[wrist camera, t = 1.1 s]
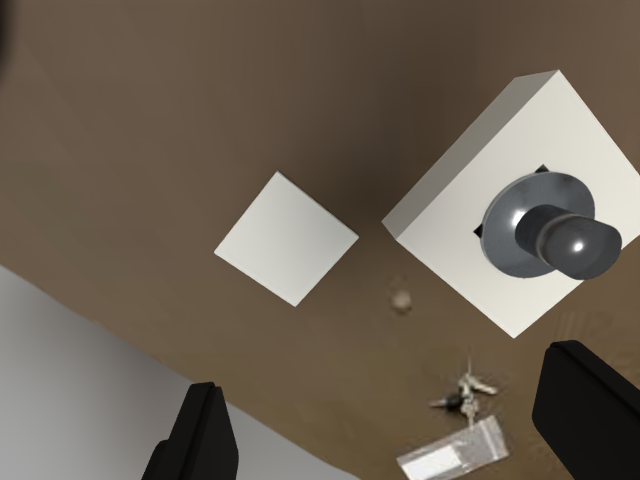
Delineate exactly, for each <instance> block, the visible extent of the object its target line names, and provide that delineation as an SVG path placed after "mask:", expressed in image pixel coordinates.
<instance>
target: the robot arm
mask: <svg viewBox="0 0 640 480" xmlns="http://www.w3.org/2000/svg"><path fill="white" fill-rule="evenodd" d="M532 420H533V423H534V425H535V427H536V429H537V430H538V432H539V433H540V434H541V436H542V437H543V438H544V440H545V441H546V442H547V443H548V445H549V446H550V447H551V449H552V450H553V451H554V453H555V454H556V455H557V457H558V458H559V459H560V461H561V462H562V463H563V465H564V466H565V467H566V469H567V470H568V471H569V473H570V474H571V475H572V476H573V478H574V479H575V480H640V390H639V389H638V388H636V387H635V386H634V385H633V384H631V383H630V382H629V381H628V380H626V379H625V378H624V377H623V376H621V375H620V374H619V373H618V372H616V371H615V370H614V369H613V368H611V367H610V366H609V365H608V364H607V363H605V362H604V361H603V360H602V359H600V358H599V357H598V356H597V355H595V354H594V353H593V352H592V351H590V350H589V349H588V348H587V347H585V346H584V345H583V344H582V343H580V342H579V341H576V340H568V341H560V342H553V343H552V344H551V345H550V347H549V348H548V349H547V350H546V352H545V356H544V361H543V365H542V370H541V375H540V379H539V384H538V389H537V393H536V398H535V403H534V407H533V412H532ZM238 460H239V455H238V449H237V445H236V441H235V437H234V434H233V430H232V426H231V423H230V419H229V415H228V412H227V407H226V404H225V400H224V396H223V392H222V389H221V387H220V386H219V387H215V384H214V383H213V382H205V383H197V384H192V385H191V386H190V387H189V389H188V392H187V394H186V397H185V399H184V402H183V404H182V407H181V409H180V412H179V414H178V417H177V419H176V422H175V424H174V426H173V429H172V431H171V434H170V436H169V439H168V440H163V441H160V442H159V444H158V445H157V446H156V448H155V450H154V451H153V453H152V456H151V458H150V460H149V463H148V465H147V467H146V470H145V472H144V474H143V477H142V479H141V480H236V474H237V469H238Z"/></svg>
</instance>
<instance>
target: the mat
mask: <svg viewBox="0 0 640 480" xmlns="http://www.w3.org/2000/svg"><path fill="white" fill-rule="evenodd" d="M358 238H359V236H358V235H357V234H356V233H355V232H353V231H352V230H351V229H350V228H348V227H347V226H346V225H345V224H344V223H342V222H341V221H340V220H339V219H337V218H336V217H335V216H334V215H332V214H331V213H330V212H329V211H327V210H326V209H325V208H324V207H322V206H321V205H320V204H319V203H317V202H316V201H315V200H314V199H312V198H311V197H310V196H309V195H307V194H306V193H305V192H304V191H302V190H301V189H300V188H299V187H297V186H296V185H295V184H294V183H292V182H291V181H290V180H289V179H287V178H286V177H285V176H284V175H282V174H281V173H280V172H279V171H277V172H276V173H275V174H274V175H273V177H272V178H271V179H270V181H269V182H268V183H267V184H266V186H265V187H264V188H263V190H262V191H261V192H260V193H259V195H258V196H257V197H256V198H255V200H254V201H253V202H252V204H251V205H250V206H249V207H248V209H247V210H246V211H245V213H244V214H243V215H242V216H241V218H240V219H239V220H238V221H237V223H236V224H235V225H234V227H233V228H232V229H231V230H230V232H229V233H228V234H227V236H226V237H225V238H224V239H223V241H222V242H221V243H220V244H219V246H218V247H217V248H216V250H215V251H214V253H215V254H217V255H218V256H220V257H221V258H223V259H224V260H226V261H227V262H229V263H230V264H232V265H233V266H235V267H236V268H238V269H239V270H241V271H242V272H244V273H245V274H247V275H248V276H250V277H251V278H253V279H254V280H256V281H257V282H259V283H260V284H262V285H263V286H265V287H266V288H268V289H269V290H271V291H272V292H274V293H275V294H277V295H278V296H280V297H281V298H283V299H284V300H286V301H287V302H289V303H290V304H292V305H293V306H295V307H296V305H297V304H298V303H299V302H300V301H301V300H302V299H303V298H304V297H305V296H306V295H307V293H308V292H309V291H310V290H311V289H312V288H313V287H314V286H315V285H316V284H317V283H318V282H319V280H320V279H321V278H322V277H323V276H324V275H325V274H326V273H327V272H328V271H329V270H330V269H331V267H332V266H333V265H334V264H335V263H336V262H337V261H338V260H339V259H340V258H341V257H342V255H343V254H344V253H345V252H346V251H347V250H348V249H349V248H350V247H351V246H352V245H353V244H354V242H355V241H356V240H357V239H358Z"/></svg>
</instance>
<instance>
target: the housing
mask: <svg viewBox="0 0 640 480" xmlns="http://www.w3.org/2000/svg"><path fill="white" fill-rule="evenodd" d="M540 171H554V172H559V173H564V174H568V175H571V176H573V177H576V178H577V179H579V180H580V181H582V182H583V183H584V184H585V185H586V186H587V187H588V189H589V190H590V192H591V194H592V196H593V199H594V203H595V219H594V220H597V221H599V222H602V223H605V224H608V225H611V226H613V227H614V228H616V229H617V230H618V231H619V233H620V235H621V238H622V248H624V247H625V246H626V245H627V244H628V243H630V242H631V241H632V240H633V239H635V238H636V237H637V236H638V235H639V234H640V176H639V174H638V173H637V172H636V170H635V169H634V168H633V166H632V165H631V164H630V162H629V161H628V160H627V159H626V157H625V156H624V155H623V153H622V152H621V151H620V149H619V148H618V147H617V145H616V144H615V143H614V141H613V140H612V139H611V137H610V136H609V135H608V134H607V132H606V131H605V130H604V128H603V127H602V126H601V124H600V123H599V122H598V120H597V119H596V118H595V116H594V115H593V114H592V113H591V111H590V110H589V109H588V107H587V106H586V105H585V103H584V102H583V101H582V99H581V98H580V97H579V95H578V94H577V93H576V92H575V90H574V89H573V88H572V86H571V85H570V84H569V82H568V81H567V80H566V78H565V77H564V76H563V74H562V73H561V72H560V71H559V70H554V71H549V72H543V73H537V74H532V75H526V76H520V77H515V78H514V79H513V80H512V81H511V82H510V83H509V84H508V85H507V86H506V87H505V89H504V90H503V91H502V92H501V93H500V94H499V95H498V96H497V97H496V98H495V99H494V100H493V101H492V103H491V104H490V105H489V106H488V107H487V108H486V109H485V110H484V111H483V112H482V113H481V114H480V115H479V117H478V118H477V119H476V120H475V121H474V122H473V123H472V124H471V125H470V126H469V127H468V128H467V129H466V131H465V132H464V133H463V134H462V135H461V136H460V137H459V138H458V139H457V140H456V141H455V142H454V144H453V145H452V146H451V147H450V148H449V149H448V150H447V151H446V152H445V153H444V154H443V155H442V156H441V158H440V159H439V160H438V161H437V162H436V163H435V164H434V165H433V166H432V167H431V168H430V169H429V170H428V172H427V173H426V174H425V175H424V176H423V177H422V178H421V179H420V180H419V181H418V182H417V183H416V184H415V186H414V187H413V188H412V189H411V190H410V191H409V192H408V193H407V194H406V195H405V196H404V197H403V198H402V200H401V201H400V202H399V203H398V204H397V205H396V206H395V207H394V208H393V209H392V210H391V211H390V212H389V214H388V215H387V216H386V217H385V218H384V219H383V220H382V221H381V222H382V223H383V224H384V226H385V227H386V228H387V230H388V231H389V232H390V233H391V235H392V236H393V237H394V239H395V240H396V241H397V242H399V243H400V244H401V245H402V246H403V247H405V248H406V249H407V250H408V251H409V252H411V253H412V254H413V255H414V256H415V257H417V258H418V259H419V260H420V261H421V262H423V263H424V264H425V265H426V266H427V267H429V268H430V269H431V270H432V271H433V272H435V273H436V274H437V275H438V276H439V277H441V278H442V279H443V280H444V281H445V282H447V283H448V284H449V285H450V286H451V287H453V288H454V289H455V290H456V291H457V292H459V293H460V294H461V295H462V296H463V297H465V298H466V299H467V300H468V301H469V302H471V303H472V304H473V305H474V306H475V307H477V308H478V309H479V310H480V311H481V312H483V313H484V314H485V315H486V316H487V317H489V318H490V319H491V320H492V321H493V322H495V323H496V324H497V325H498V326H499V327H501V328H502V329H503V330H504V331H505V332H507V333H508V334H509V335H510V336H511V337H513V338H515V337H516V336H518V335H519V334H520V333H521V332H522V331H524V330H525V329H526V328H527V327H528V326H530V325H531V324H532V323H533V322H534V321H536V320H537V319H538V318H539V317H541V316H542V315H543V314H544V313H545V312H547V311H548V310H549V309H550V308H551V307H553V306H554V305H555V304H556V303H557V302H559V301H560V300H561V299H562V298H563V297H565V296H566V295H567V294H568V293H569V292H571V291H572V290H573V289H574V288H575V287H577V286H578V285H579V284H580V283H581V282H583V281H584V280H575V279H572V278H570V277H568V276H566V275H565V274H563V273H561V272H560V271H558V270H555V271H553V272H551V273H548V274H546V275H542V276H539V277H534V278H517V277H512V276H509V275H506V274H505V273H503V272H501V271H500V270H498V269H497V268H496V267H494V266H493V265H492V264H491V263H490V262H489V261H488V260H487V259H486V257H485V256H484V254H483V251H482V249H481V245H480V238H479V237H478V236H477V235H476V234H475V233H474V232H473V231H474V230H475V229H476V228H477V227H478V226H479V225H480V224H481V222H482V219H483V216H484V214H485V212H486V210H487V208H488V206H489V205H490V203H491V202H492V201H493V199H494V198H495V197H496V196H497V195H498V193H499V192H500V191H501V190H503V189H504V188H505V187H506V186H507V185H509V184H510V183H512V182H513V181H515V180H517V179H518V178H520V177H523V176H525V175H528V174H531V173H534V172H540ZM622 248H621V249H622Z"/></svg>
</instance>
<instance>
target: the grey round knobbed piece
mask: <svg viewBox="0 0 640 480" xmlns="http://www.w3.org/2000/svg"><path fill="white" fill-rule="evenodd" d="M594 219H595V203H594V199H593V196H592V194H591V192H590V190H589V189H588V187H587V186H586V185H585V184H584V183H583V182H582V181H580V180H579V179H577V178H576V177H573V176H571V175H568V174H564V173H559V172H554V171H540V172H534V173H531V174H528V175H525V176H523V177H520V178H518V179H517V180H515V181H513V182H512V183H510V184H509V185H507V186H506V187H505V188H504V189H503V190H501V191H500V192H499V193H498V195H497V196H496V197H495V198H494V199H493V201H492V202H491V203H490V205H489V206H488V208H487V210H486V212H485V214H484V216H483V219H482V222H481V224H480V225H479V226H478V227H477V228H476V229H475V230H474V231H473V232H474V233H475V234H476V235H477V236H478V237H479V238H480V245H481V249H482V251H483V254H484V256H485V257H486V259H487V260H488V261H489V262H490V263H491V264H492V265H493V266H494V267H496V268H497V269H498V270H500V271H501V272H503V273H505V274H506V275H509V276H512V277H517V278H534V277H539V276H542V275H546V274H548V273H551V272H553V271H555V270H558V271H560V272H561V273H563V274H565V275H566V276H568V277H570V278H572V279H575V280H588V279H592V278H595V277H597V276H599V275H601V274H602V273H604V272H605V271H607V270H608V269H609V268H610V267H611V266H612V265H613V264H614V262H615V261H616V260H617V258H618V256H619V254H620V252H621V248H622V238H621V235H620V233H619V231H618V230H617V229H616V228H614V227H613V226H611V225H608V224H605V223H602V222H599V221H597V220H594Z"/></svg>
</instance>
